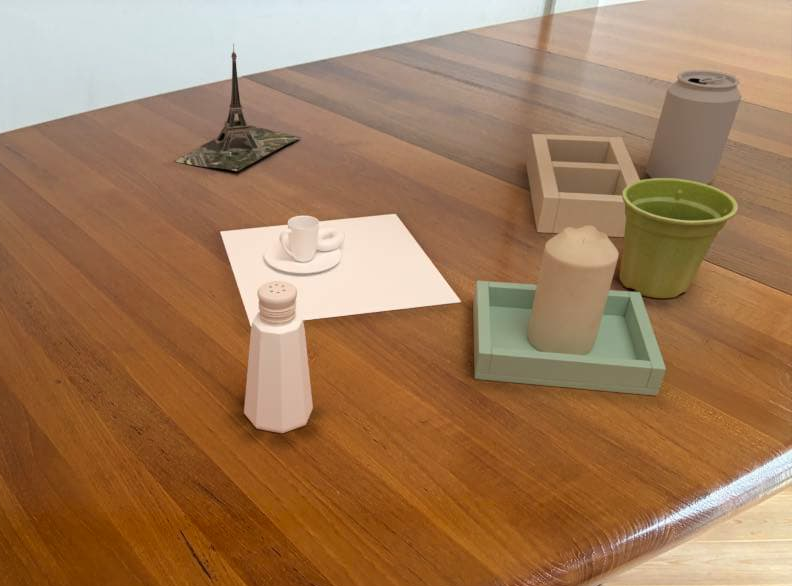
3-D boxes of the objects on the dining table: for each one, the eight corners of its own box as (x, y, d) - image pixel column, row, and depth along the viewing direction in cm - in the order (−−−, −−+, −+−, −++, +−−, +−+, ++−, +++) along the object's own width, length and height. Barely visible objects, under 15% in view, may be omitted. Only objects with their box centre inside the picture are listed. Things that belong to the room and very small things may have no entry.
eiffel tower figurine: (238, 176, 102) (233, 64, 94) (174, 161, 107) (165, 53, 99) (301, 140, 112) (302, 35, 104) (240, 127, 116) (237, 26, 108)
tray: (632, 317, 74) (640, 291, 72) (657, 396, 64) (666, 369, 63) (473, 304, 76) (477, 280, 75) (474, 379, 67) (478, 352, 65)
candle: (517, 345, 69) (538, 237, 63) (539, 317, 73) (562, 211, 67) (582, 365, 67) (611, 254, 61) (602, 334, 70) (631, 227, 64)
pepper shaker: (317, 431, 62) (321, 305, 55) (246, 437, 62) (241, 311, 55) (308, 389, 66) (310, 267, 60) (241, 394, 66) (236, 272, 59)
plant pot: (719, 312, 74) (752, 223, 69) (609, 305, 75) (633, 217, 70) (693, 264, 81) (721, 179, 76) (593, 258, 83) (614, 175, 77)
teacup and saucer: (338, 237, 88) (339, 201, 85) (358, 271, 82) (360, 234, 79) (257, 245, 87) (256, 209, 84) (272, 281, 81) (271, 243, 78)
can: (638, 167, 101) (666, 65, 94) (704, 170, 100) (737, 67, 92) (649, 191, 95) (679, 85, 88) (718, 195, 94) (755, 87, 87)
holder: (613, 169, 101) (621, 137, 98) (639, 238, 86) (650, 202, 83) (526, 165, 103) (531, 133, 100) (536, 232, 88) (543, 197, 85)
